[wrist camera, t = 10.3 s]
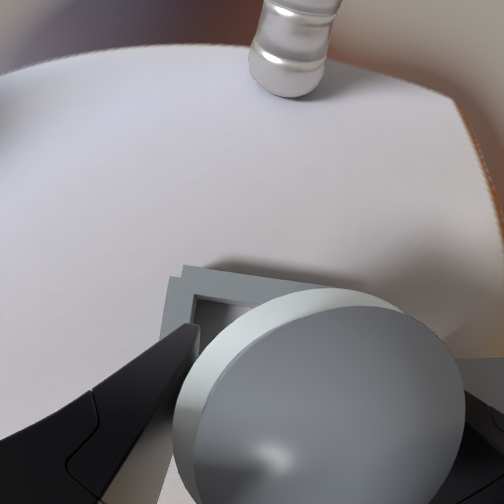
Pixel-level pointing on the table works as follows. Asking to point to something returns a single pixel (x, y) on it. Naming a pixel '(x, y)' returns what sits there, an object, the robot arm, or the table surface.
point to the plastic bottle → (292, 45)
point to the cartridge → (320, 406)
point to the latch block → (484, 379)
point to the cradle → (220, 293)
